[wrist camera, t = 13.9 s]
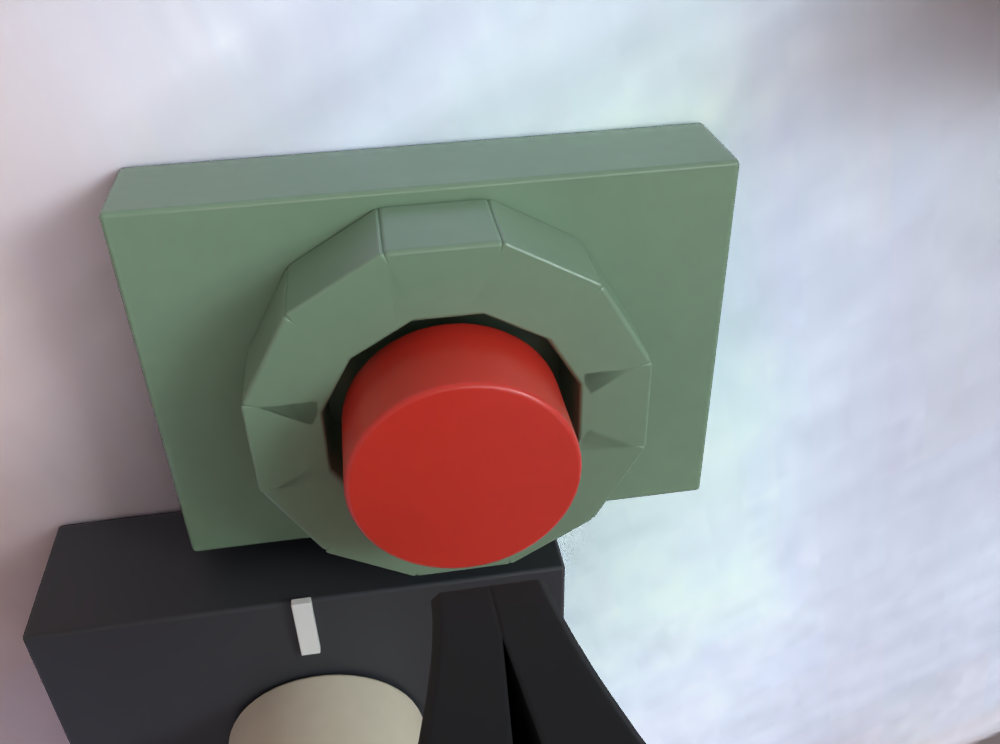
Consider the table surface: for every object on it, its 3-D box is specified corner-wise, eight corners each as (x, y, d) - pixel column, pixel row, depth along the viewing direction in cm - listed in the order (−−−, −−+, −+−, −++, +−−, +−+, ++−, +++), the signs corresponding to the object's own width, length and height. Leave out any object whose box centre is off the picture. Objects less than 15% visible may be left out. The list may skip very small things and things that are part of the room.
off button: (354, 510, 16) (357, 584, 15) (328, 333, 14) (328, 399, 13) (558, 485, 17) (580, 555, 15) (560, 309, 15) (586, 371, 13)
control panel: (148, 761, 24) (127, 884, 22) (56, 521, 20) (15, 641, 17) (536, 703, 25) (561, 814, 23) (536, 464, 21) (568, 569, 18)
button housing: (202, 488, 20) (182, 618, 17) (118, 166, 16) (73, 263, 13) (671, 433, 21) (728, 546, 18) (702, 121, 17) (781, 201, 14)
